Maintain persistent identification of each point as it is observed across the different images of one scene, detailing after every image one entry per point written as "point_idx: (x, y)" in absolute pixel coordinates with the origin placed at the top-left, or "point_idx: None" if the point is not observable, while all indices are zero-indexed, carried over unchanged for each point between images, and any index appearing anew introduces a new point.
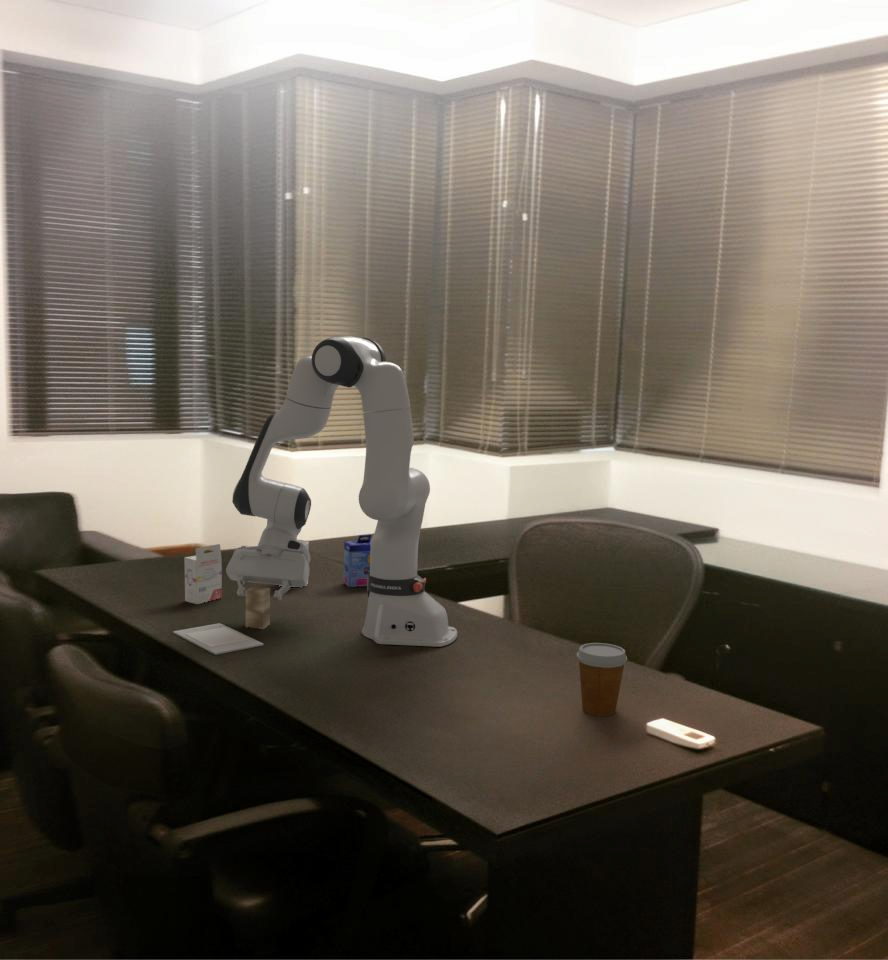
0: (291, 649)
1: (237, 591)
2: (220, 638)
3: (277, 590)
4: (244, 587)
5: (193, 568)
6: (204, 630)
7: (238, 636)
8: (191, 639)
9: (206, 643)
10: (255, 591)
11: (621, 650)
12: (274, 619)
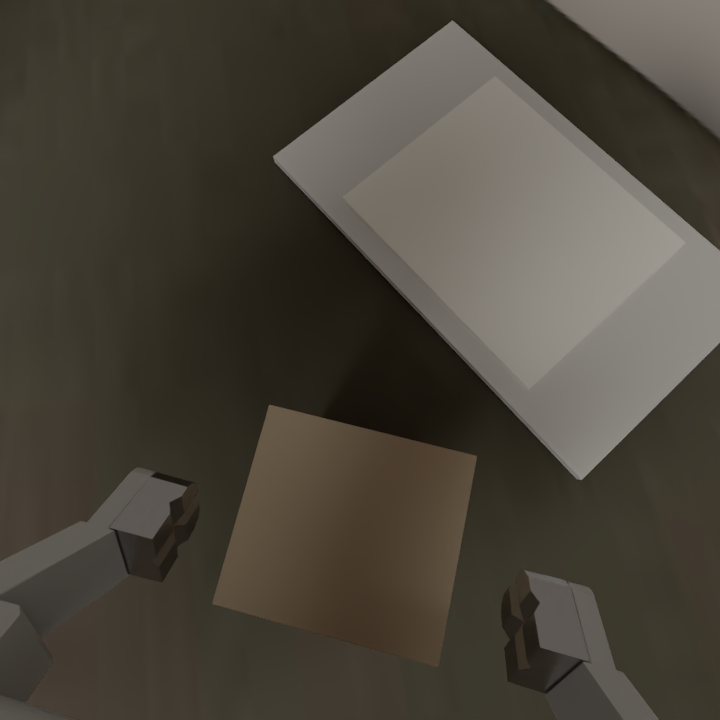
0: (147, 125)
1: (588, 595)
2: (487, 190)
3: (126, 530)
4: (537, 651)
5: None
6: (611, 310)
7: (409, 231)
8: (621, 178)
9: (528, 115)
10: (360, 427)
11: None
12: (281, 644)
